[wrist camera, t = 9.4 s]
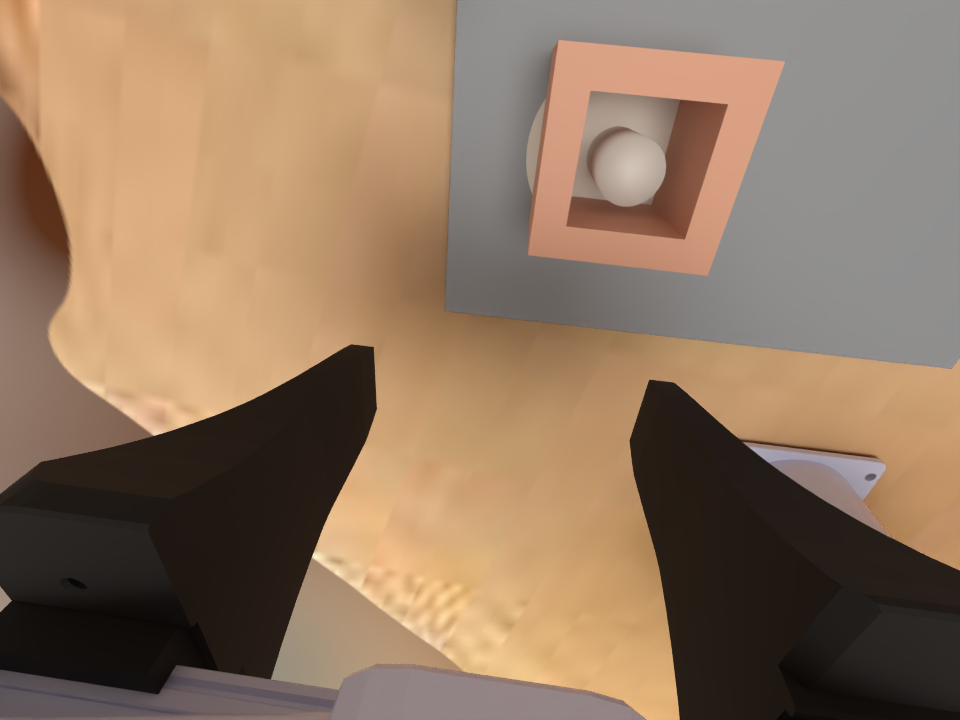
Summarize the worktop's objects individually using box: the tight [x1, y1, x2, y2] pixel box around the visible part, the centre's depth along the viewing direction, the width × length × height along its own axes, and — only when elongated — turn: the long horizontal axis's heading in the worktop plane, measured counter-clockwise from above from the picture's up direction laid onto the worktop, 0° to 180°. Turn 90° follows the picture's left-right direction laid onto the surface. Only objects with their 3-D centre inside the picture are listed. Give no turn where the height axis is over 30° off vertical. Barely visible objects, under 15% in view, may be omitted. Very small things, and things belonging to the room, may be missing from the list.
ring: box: [528, 40, 785, 276], centre depth 15 cm, size 6×6×4 cm
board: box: [445, 0, 960, 369], centre depth 16 cm, size 14×22×5 cm, turn 86°
